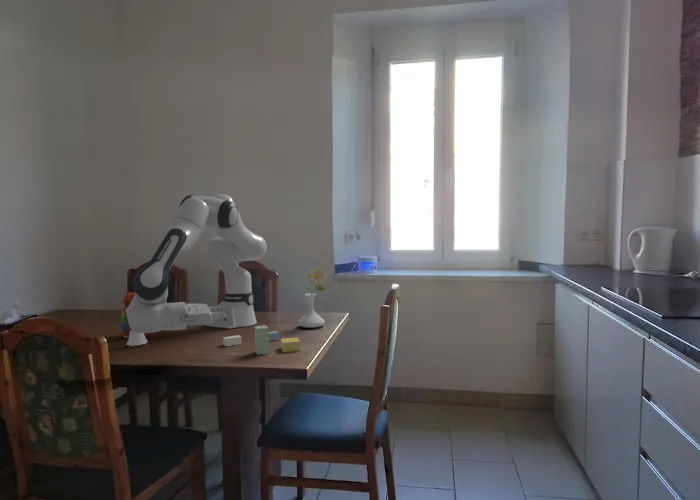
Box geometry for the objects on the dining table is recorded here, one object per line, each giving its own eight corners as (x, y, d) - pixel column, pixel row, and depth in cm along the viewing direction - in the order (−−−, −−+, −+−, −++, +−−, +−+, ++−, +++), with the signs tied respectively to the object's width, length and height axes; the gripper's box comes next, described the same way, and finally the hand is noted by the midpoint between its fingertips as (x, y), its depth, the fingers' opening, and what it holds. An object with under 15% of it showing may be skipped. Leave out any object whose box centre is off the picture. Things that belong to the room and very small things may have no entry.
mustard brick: (283, 352, 169) (282, 342, 169) (281, 348, 175) (280, 338, 175) (300, 351, 171) (300, 341, 170) (298, 346, 176) (297, 337, 176)
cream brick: (225, 347, 179) (225, 339, 178) (223, 345, 181) (223, 337, 181) (241, 344, 182) (241, 336, 181) (239, 342, 184) (238, 335, 184)
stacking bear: (153, 335, 200) (151, 291, 199) (128, 340, 192) (125, 295, 191) (141, 331, 207) (138, 289, 206) (116, 336, 200) (114, 292, 198)
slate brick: (263, 342, 184) (263, 334, 184) (261, 340, 187) (260, 333, 186) (278, 340, 186) (278, 332, 186) (276, 338, 189) (276, 331, 189)
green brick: (257, 355, 167) (256, 328, 166) (255, 352, 170) (254, 326, 170) (269, 353, 168) (268, 327, 168) (266, 350, 172) (265, 325, 171)
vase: (149, 345, 183) (147, 319, 183) (127, 348, 180) (125, 321, 179) (146, 341, 190) (145, 315, 189) (125, 344, 186) (123, 318, 185)
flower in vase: (295, 329, 202) (292, 269, 200) (301, 323, 213) (299, 266, 211) (326, 330, 200) (324, 269, 198) (331, 323, 211) (329, 266, 210)
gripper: (181, 311, 149) (227, 307, 154) (178, 301, 168) (220, 298, 173) (182, 331, 149) (228, 327, 154) (179, 320, 168) (221, 316, 173)
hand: (224, 311), depth 164 cm, fingers open, 8 cm apart
